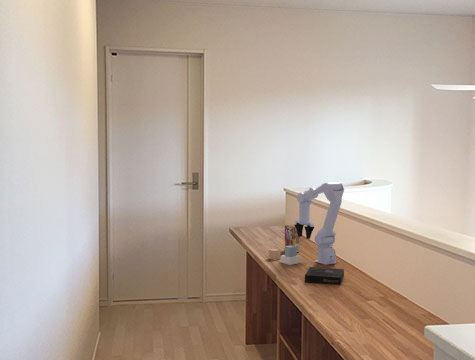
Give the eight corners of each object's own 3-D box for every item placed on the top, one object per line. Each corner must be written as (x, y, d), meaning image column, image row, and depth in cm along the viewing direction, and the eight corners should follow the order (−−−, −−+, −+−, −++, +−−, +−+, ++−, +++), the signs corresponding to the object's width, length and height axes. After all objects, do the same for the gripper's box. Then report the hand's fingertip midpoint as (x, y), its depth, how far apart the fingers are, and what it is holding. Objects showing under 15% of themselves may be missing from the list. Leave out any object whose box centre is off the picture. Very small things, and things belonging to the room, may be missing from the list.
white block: (299, 263, 301) (299, 255, 301) (290, 265, 297) (290, 257, 296) (290, 260, 307) (290, 253, 306) (280, 262, 302) (280, 255, 302)
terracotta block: (280, 258, 311) (280, 249, 311) (275, 260, 308) (275, 251, 307) (274, 257, 314) (274, 248, 314) (268, 258, 311) (268, 249, 310)
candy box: (300, 251, 328) (300, 225, 327) (295, 252, 326) (295, 226, 324) (289, 249, 335) (289, 224, 334) (284, 250, 333) (284, 224, 331)
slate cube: (296, 256, 300) (296, 246, 300) (289, 257, 298) (289, 247, 298) (291, 254, 304) (291, 245, 304) (284, 255, 302) (284, 246, 302)
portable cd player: (343, 276, 274) (343, 268, 273) (340, 286, 257) (340, 277, 257) (310, 274, 278) (310, 266, 278) (304, 283, 262) (304, 275, 261)
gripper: (290, 212, 320) (290, 236, 321) (306, 215, 307) (306, 240, 308) (300, 211, 323) (300, 235, 324) (316, 214, 311) (316, 239, 312)
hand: (304, 237), depth 317 cm, fingers open, 7 cm apart
